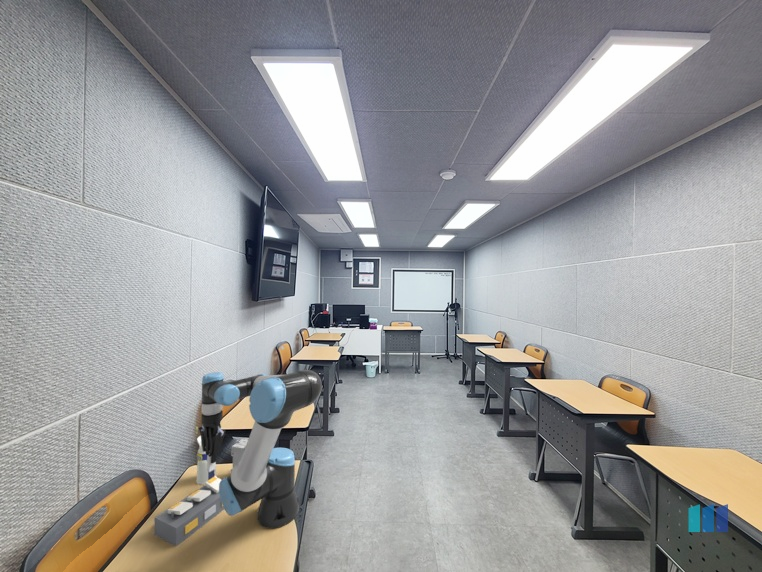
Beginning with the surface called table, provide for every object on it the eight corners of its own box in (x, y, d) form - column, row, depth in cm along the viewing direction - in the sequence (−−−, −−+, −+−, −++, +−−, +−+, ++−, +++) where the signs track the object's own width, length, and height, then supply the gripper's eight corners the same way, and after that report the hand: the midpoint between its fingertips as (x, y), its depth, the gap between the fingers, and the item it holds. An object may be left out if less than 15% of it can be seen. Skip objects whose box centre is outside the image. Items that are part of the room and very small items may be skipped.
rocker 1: (192, 506, 105) (192, 502, 105) (180, 514, 101) (179, 510, 101) (180, 505, 107) (180, 501, 107) (167, 513, 103) (167, 509, 103)
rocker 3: (226, 486, 118) (227, 483, 118) (216, 493, 114) (217, 490, 113) (214, 478, 120) (215, 475, 120) (204, 485, 116) (205, 481, 116)
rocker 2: (210, 493, 111) (210, 490, 111) (199, 501, 107) (199, 497, 107) (198, 493, 114) (198, 489, 114) (187, 500, 110) (187, 496, 110)
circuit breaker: (258, 484, 129) (259, 449, 129) (230, 480, 131) (231, 446, 132) (268, 473, 136) (268, 441, 136) (241, 470, 139) (242, 438, 139)
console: (237, 499, 119) (237, 480, 119) (176, 546, 97) (177, 523, 97) (216, 491, 124) (216, 473, 124) (154, 534, 102) (154, 512, 102)
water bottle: (203, 487, 126) (204, 429, 127) (191, 481, 130) (192, 425, 131) (221, 476, 134) (221, 421, 135) (209, 471, 138) (209, 418, 138)
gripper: (231, 410, 120) (230, 468, 119) (209, 405, 125) (208, 461, 124) (214, 418, 113) (213, 479, 112) (192, 412, 118) (191, 471, 117)
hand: (211, 469), depth 118 cm, fingers closed
